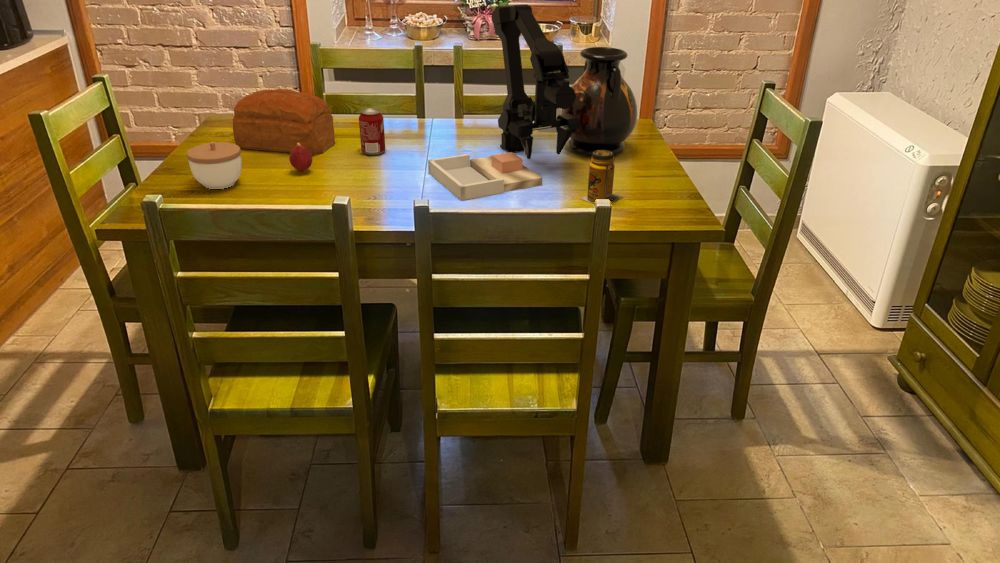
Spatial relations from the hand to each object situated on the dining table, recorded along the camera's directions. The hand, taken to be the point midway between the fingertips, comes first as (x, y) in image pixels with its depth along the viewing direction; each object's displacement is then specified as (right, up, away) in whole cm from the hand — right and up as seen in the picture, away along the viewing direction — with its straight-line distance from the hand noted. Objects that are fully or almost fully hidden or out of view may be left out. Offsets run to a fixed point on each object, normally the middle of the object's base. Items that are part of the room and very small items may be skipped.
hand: (543, 156), depth 197 cm
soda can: (-48, +3, +12) cm, 49 cm away
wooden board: (-10, -6, -3) cm, 12 cm away
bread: (-74, +6, +16) cm, 76 cm away
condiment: (+14, -13, -16) cm, 24 cm away
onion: (-64, -5, -3) cm, 64 cm away
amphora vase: (+16, +4, +16) cm, 23 cm away
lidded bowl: (-83, -9, -11) cm, 84 cm away
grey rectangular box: (+4, +13, +32) cm, 35 cm away
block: (-10, -4, -4) cm, 11 cm away
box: (-21, -8, -8) cm, 23 cm away
